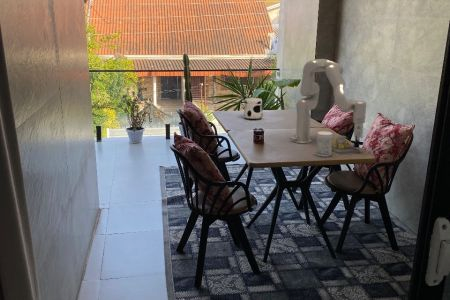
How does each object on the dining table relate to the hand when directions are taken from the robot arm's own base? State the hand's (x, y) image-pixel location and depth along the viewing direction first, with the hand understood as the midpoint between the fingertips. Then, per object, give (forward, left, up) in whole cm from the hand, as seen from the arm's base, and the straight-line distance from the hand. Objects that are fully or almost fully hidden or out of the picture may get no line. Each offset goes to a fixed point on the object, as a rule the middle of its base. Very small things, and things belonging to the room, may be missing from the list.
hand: (356, 147), depth 290 cm
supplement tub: (-25, -1, -3) cm, 25 cm away
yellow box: (-4, +7, -1) cm, 9 cm away
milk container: (-30, +124, -3) cm, 127 cm away
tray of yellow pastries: (-7, +9, -3) cm, 11 cm away
